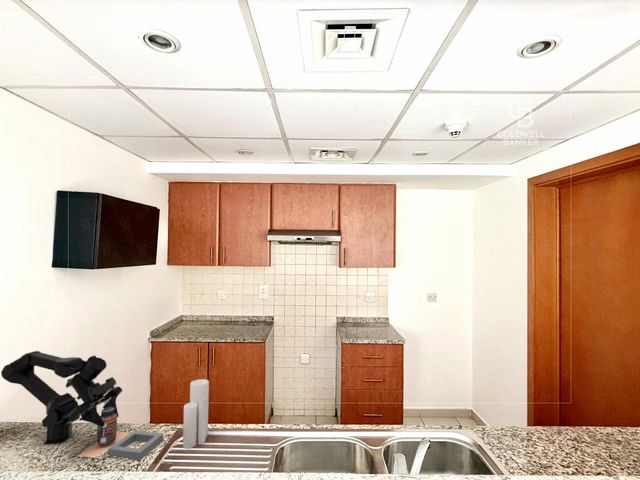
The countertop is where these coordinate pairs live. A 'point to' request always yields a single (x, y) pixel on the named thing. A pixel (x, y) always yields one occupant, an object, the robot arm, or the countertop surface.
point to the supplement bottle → (107, 427)
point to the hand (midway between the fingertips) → (110, 421)
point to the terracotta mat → (102, 446)
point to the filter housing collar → (135, 453)
